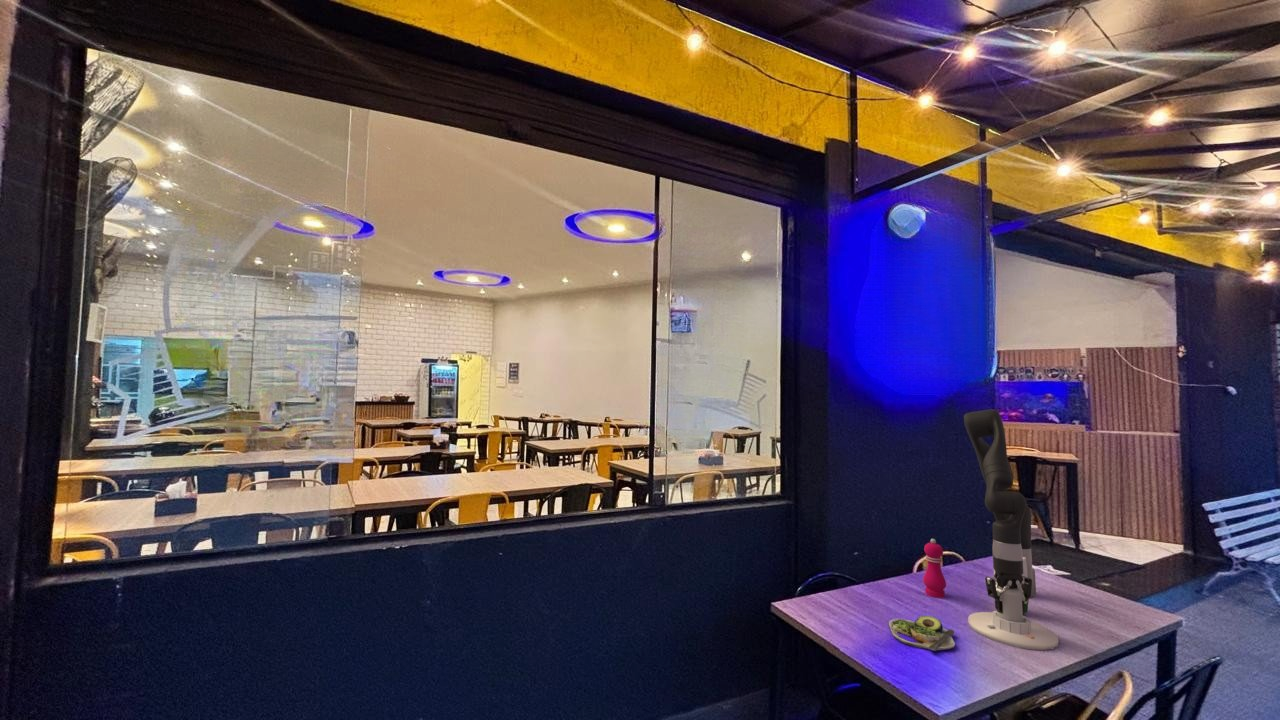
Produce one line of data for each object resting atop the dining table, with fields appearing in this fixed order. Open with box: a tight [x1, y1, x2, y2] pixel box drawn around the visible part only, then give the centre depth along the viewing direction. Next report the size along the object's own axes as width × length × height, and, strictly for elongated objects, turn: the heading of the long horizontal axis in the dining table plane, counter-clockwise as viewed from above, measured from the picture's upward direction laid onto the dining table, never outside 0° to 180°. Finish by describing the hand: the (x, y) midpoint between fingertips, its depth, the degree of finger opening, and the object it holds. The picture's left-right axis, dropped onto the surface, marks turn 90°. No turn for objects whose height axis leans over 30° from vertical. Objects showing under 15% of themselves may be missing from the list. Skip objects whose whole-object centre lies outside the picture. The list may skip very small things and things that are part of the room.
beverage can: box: [997, 586, 1023, 623], centre depth 151 cm, size 6×6×12 cm
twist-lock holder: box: [967, 610, 1059, 651], centre depth 151 cm, size 22×22×4 cm
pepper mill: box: [922, 538, 947, 599], centre depth 181 cm, size 7×7×20 cm
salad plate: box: [888, 615, 956, 652], centre depth 145 cm, size 19×18×5 cm
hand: (1009, 612), depth 151 cm, fingers closed on beverage can, 6 cm apart
